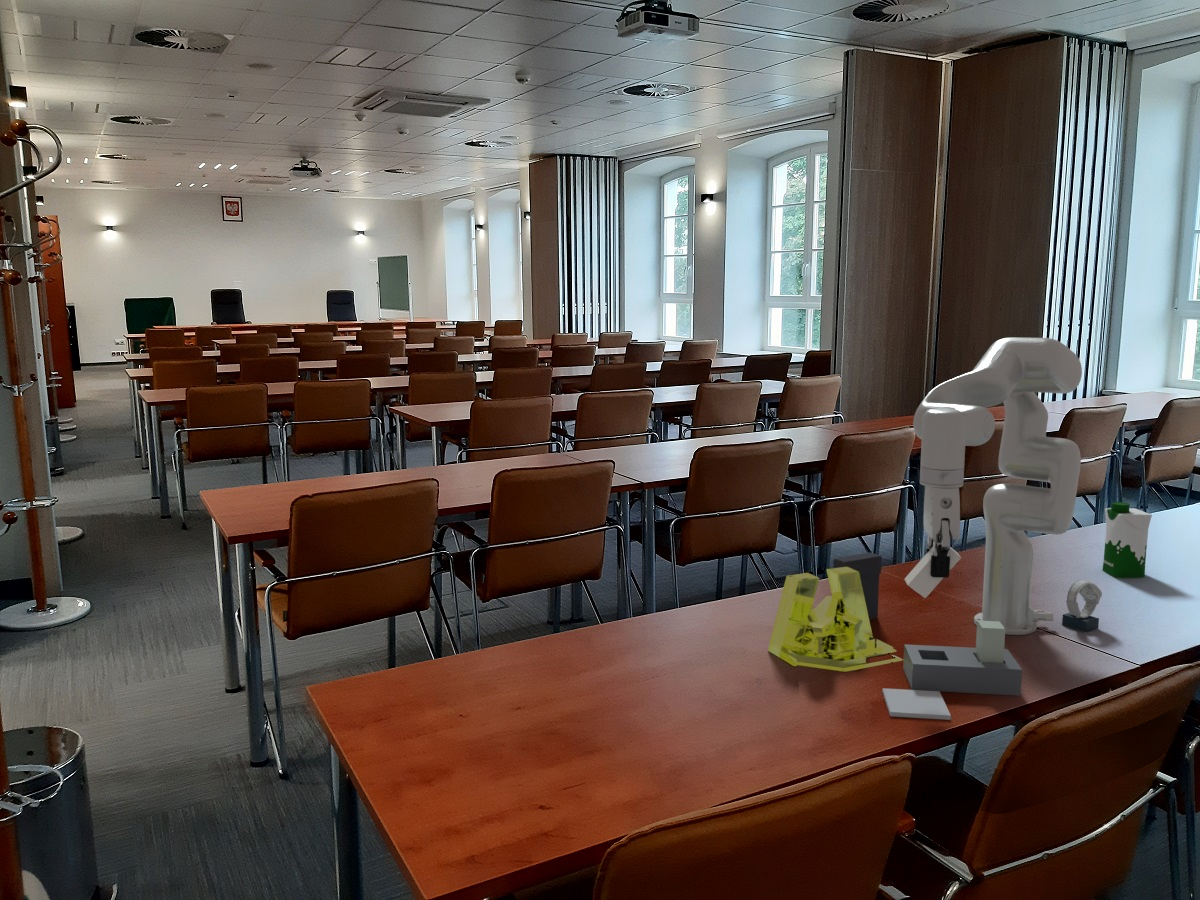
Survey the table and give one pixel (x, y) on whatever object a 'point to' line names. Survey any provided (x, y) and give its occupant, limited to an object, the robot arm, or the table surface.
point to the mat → (916, 704)
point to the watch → (1083, 618)
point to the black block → (865, 577)
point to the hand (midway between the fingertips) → (937, 572)
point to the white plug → (927, 573)
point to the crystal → (826, 624)
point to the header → (960, 671)
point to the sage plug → (990, 642)
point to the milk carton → (1125, 541)
